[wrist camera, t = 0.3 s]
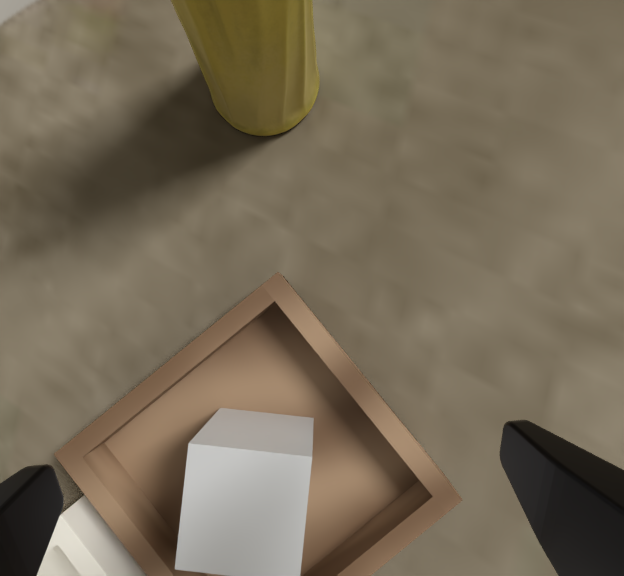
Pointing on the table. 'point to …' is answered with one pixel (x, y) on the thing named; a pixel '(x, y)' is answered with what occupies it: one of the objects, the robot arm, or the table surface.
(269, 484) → the stone block
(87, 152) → the table surface
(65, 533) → the cream tray
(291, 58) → the vase
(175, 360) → the walnut tray
